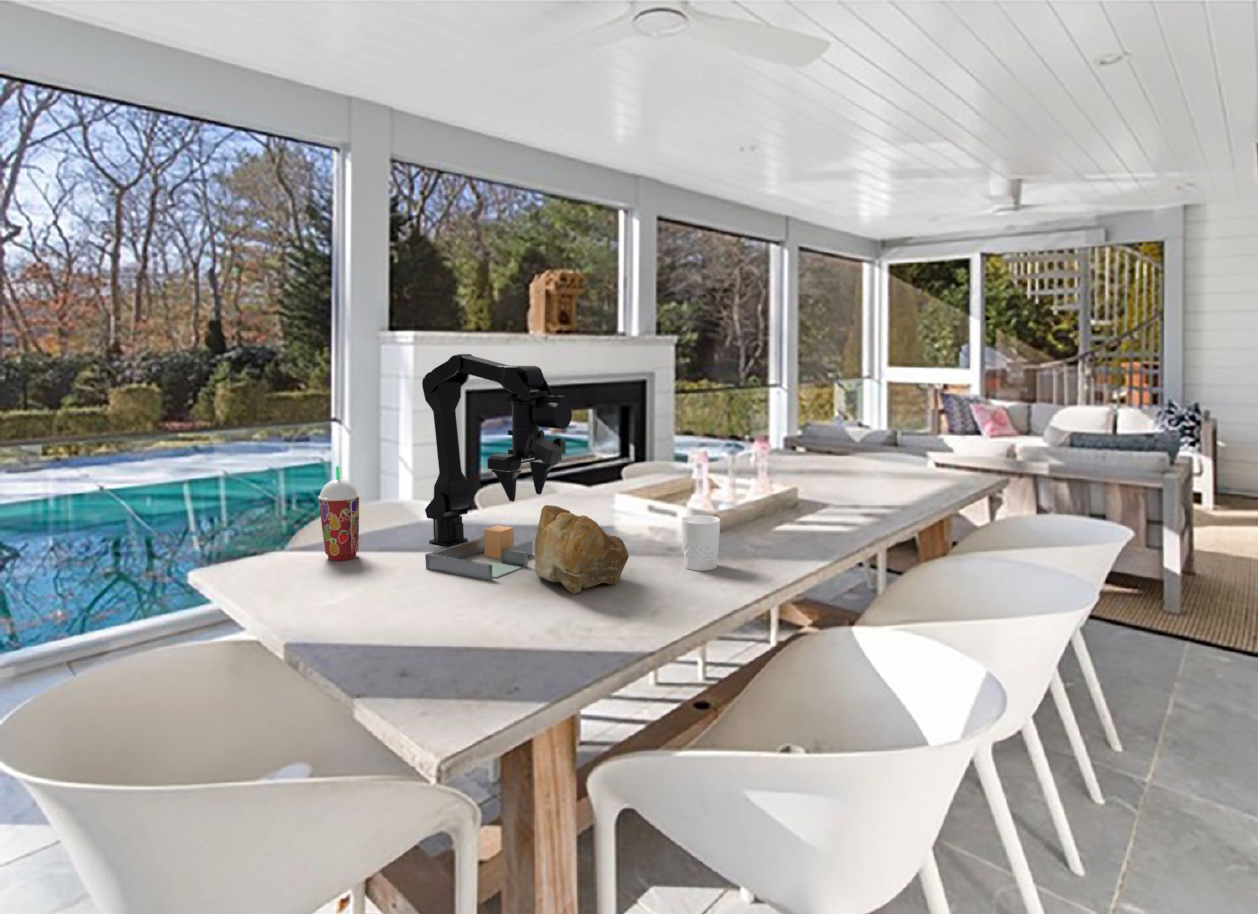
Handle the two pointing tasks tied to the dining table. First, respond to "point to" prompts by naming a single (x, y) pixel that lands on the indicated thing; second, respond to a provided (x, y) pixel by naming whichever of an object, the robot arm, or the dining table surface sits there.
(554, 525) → the rough brown rock
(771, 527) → the dining table surface
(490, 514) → the dining table surface
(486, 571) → the steel rail course
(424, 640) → the dining table surface
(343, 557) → the smoothie
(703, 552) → the white cup
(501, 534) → the orange block
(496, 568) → the pad
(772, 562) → the dining table surface
